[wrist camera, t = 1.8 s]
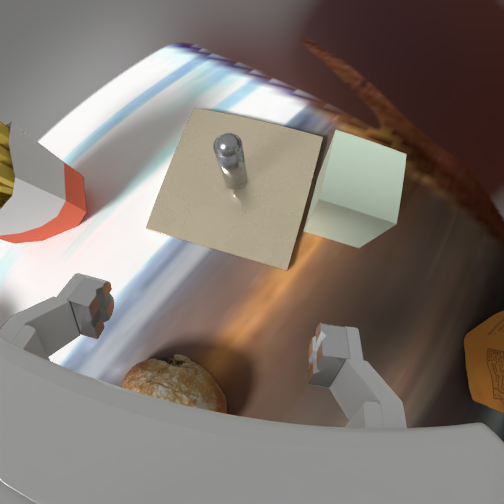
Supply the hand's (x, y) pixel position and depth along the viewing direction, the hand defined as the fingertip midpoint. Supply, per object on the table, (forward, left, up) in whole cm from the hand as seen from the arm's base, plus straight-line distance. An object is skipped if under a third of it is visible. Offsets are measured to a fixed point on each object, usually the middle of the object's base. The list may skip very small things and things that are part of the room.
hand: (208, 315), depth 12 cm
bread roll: (-3, +11, -18) cm, 21 cm away
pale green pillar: (0, -13, -18) cm, 22 cm away
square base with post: (+9, -8, -18) cm, 21 cm away
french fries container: (+21, +9, -18) cm, 29 cm away
